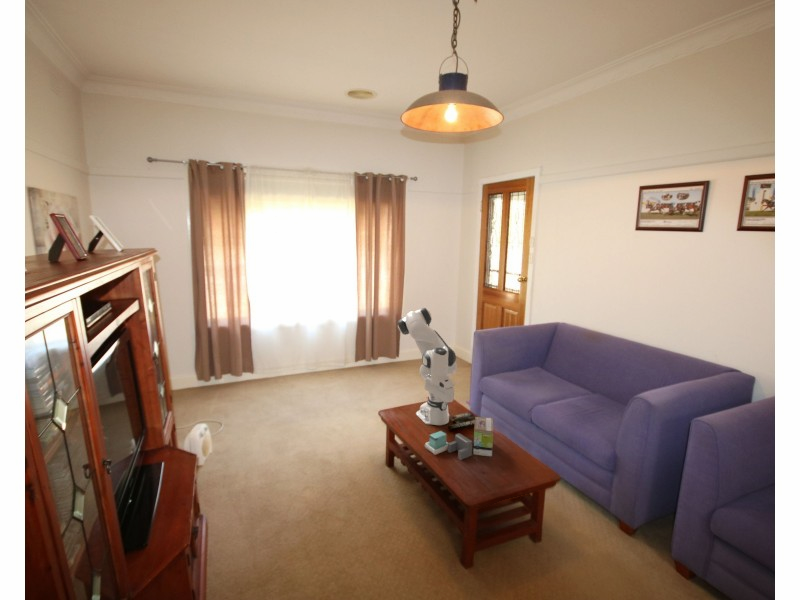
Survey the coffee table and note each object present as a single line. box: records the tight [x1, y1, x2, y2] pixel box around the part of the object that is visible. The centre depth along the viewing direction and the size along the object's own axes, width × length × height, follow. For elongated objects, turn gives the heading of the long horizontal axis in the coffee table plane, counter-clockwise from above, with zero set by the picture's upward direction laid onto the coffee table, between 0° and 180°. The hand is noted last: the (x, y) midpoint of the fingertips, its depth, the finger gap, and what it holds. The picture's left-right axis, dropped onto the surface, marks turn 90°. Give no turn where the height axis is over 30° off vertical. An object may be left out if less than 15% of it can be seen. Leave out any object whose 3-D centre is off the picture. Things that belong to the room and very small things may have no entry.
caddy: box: [428, 430, 447, 450], centre depth 215 cm, size 5×8×7 cm, turn 125°
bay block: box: [447, 433, 473, 461], centre depth 210 cm, size 10×8×8 cm
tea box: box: [472, 416, 495, 457], centre depth 214 cm, size 15×10×15 cm, turn 168°
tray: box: [424, 441, 449, 455], centre depth 215 cm, size 9×11×2 cm
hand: (438, 403), depth 211 cm, fingers open, 8 cm apart
